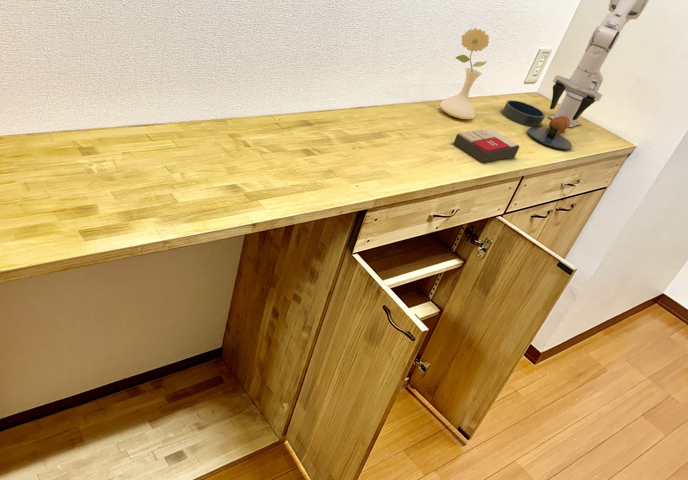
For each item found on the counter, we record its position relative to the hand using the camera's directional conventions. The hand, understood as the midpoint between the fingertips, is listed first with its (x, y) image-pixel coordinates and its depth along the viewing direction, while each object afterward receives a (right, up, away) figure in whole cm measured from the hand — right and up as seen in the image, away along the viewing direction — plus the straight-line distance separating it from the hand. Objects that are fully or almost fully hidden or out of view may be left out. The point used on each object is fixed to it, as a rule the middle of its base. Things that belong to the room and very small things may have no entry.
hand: (562, 114), depth 174 cm
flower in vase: (-33, +1, +4) cm, 33 cm away
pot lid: (-2, -7, +4) cm, 8 cm away
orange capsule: (+4, -1, +14) cm, 15 cm away
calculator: (-30, -15, -16) cm, 37 cm away
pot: (-6, +3, +16) cm, 18 cm away
